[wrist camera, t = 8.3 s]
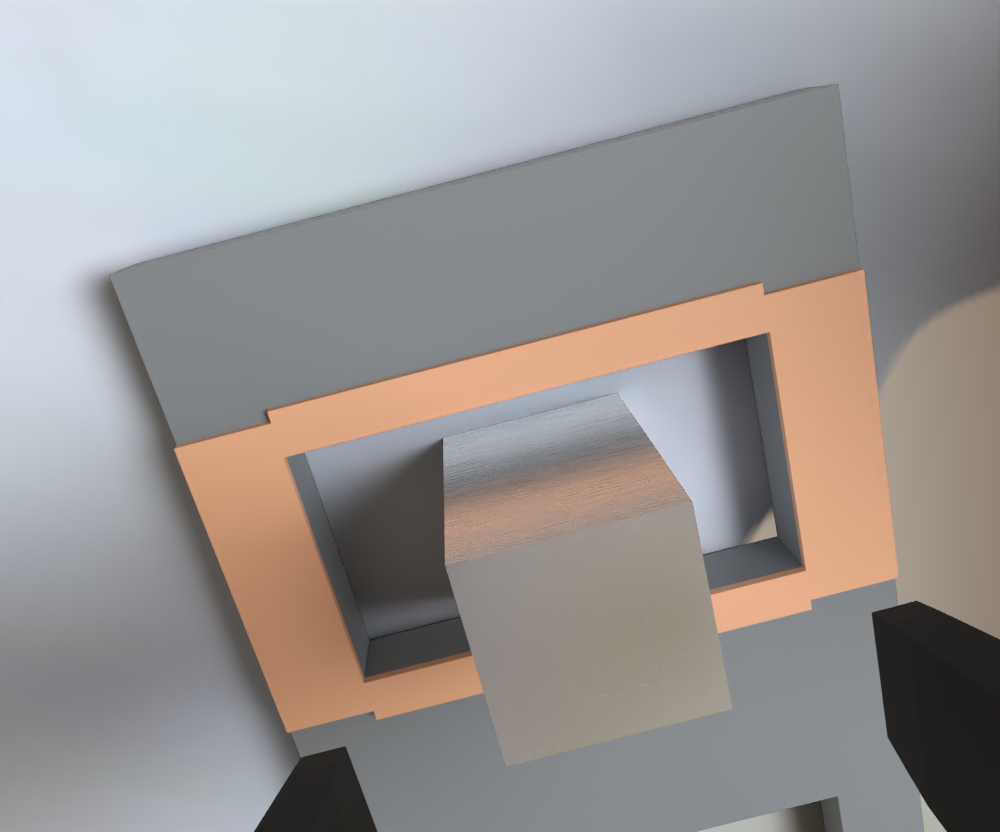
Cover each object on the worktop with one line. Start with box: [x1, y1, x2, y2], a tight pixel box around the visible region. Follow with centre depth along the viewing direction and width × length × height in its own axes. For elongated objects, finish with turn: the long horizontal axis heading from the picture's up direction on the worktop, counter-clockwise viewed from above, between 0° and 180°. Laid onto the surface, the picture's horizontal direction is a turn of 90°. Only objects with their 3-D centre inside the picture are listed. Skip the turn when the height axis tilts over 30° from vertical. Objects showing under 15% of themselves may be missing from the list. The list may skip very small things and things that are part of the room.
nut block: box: [443, 393, 733, 767], centre depth 17 cm, size 4×4×6 cm
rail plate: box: [110, 84, 924, 832], centre depth 21 cm, size 14×26×2 cm, turn 14°
